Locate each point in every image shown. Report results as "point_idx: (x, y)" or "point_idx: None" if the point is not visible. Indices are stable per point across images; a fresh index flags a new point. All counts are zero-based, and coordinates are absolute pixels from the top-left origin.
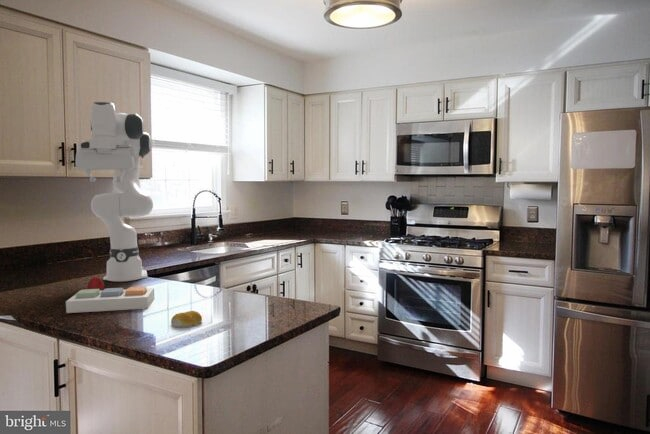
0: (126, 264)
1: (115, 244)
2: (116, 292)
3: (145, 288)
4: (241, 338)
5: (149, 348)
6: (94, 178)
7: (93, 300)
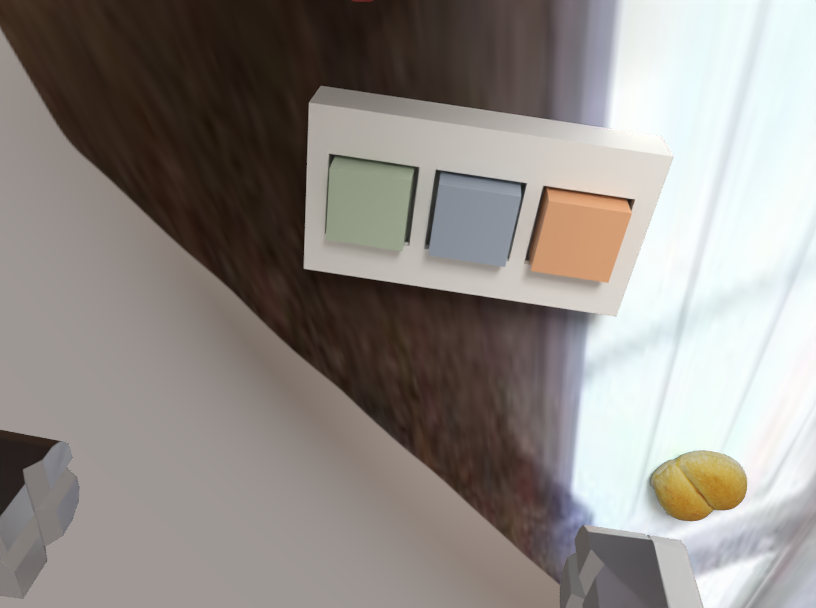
0: None
1: None
2: (493, 263)
3: (623, 232)
4: (780, 598)
5: None
6: (37, 548)
7: (407, 283)
